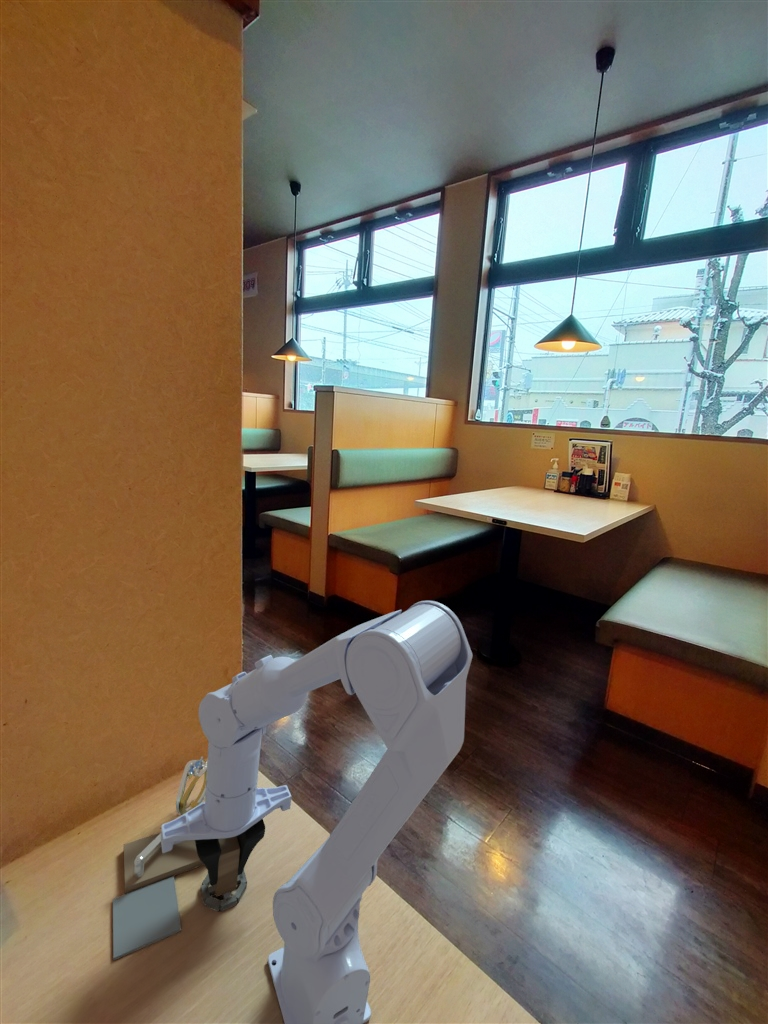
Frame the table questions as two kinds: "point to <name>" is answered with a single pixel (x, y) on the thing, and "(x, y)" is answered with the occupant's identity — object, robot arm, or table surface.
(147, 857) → the bent wire
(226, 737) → the robot arm
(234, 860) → the ring wand
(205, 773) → the ring
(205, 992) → the table surface
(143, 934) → the mat
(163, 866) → the base
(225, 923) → the table surface
